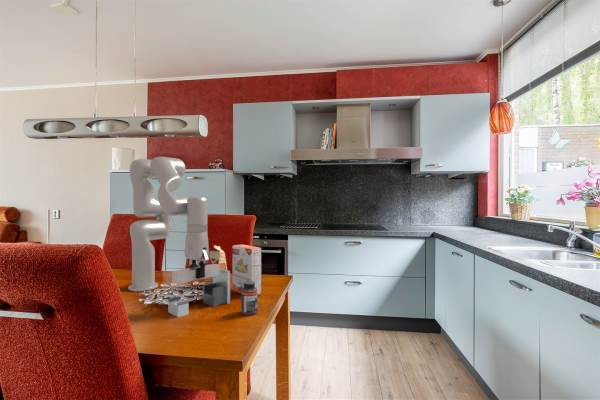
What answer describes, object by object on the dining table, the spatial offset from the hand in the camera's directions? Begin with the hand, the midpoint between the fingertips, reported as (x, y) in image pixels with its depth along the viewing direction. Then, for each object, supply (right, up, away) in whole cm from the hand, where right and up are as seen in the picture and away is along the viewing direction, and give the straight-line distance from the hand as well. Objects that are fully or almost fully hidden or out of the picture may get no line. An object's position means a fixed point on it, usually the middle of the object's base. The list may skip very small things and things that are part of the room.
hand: (197, 276), depth 120 cm
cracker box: (+15, -12, +20) cm, 28 cm away
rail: (0, -1, 0) cm, 1 cm away
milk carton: (-1, -12, +31) cm, 34 cm away
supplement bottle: (+21, -12, -5) cm, 25 cm away
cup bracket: (+5, -12, +6) cm, 15 cm away
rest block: (-5, -12, -6) cm, 14 cm away
